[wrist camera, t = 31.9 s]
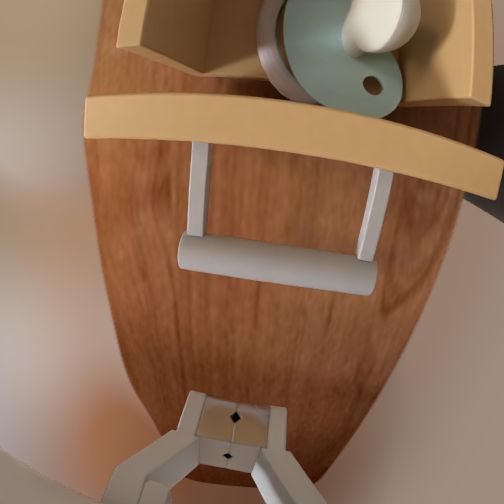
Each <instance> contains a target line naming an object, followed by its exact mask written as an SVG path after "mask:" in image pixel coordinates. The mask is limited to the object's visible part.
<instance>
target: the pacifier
mask: <svg viewBox="0 0 504 504" xmlns="http://www.w3.org/2000/svg"><path fill="white" fill-rule="evenodd" d="M286 3H287V4H286ZM285 4H286V7H285V14H284V25H283V32H284V45H285V50H286V54H287V58H288V61H289V64H290V66H291V69H292V71H293V73H294V75H295V77H296V78H297V79H295V78H294V77H293V76H292V75H291V74H290V73H289V71H288V70H287V69H286V68H285V66H284V64H283V62H282V60H281V58H280V56H279V52H278V48H277V40H276V30H277V22H278V19H279V16H280V13H281V11H282V9H283V8H284V6H285ZM420 16H421V8H420V2H419V0H264V2H263V4H262V7H261V10H260V12H259V15H258V21H257V29H256V38H257V50H258V54H259V57H260V61H261V65H262V67H263V69H264V71H265V73H266V75H267V77H268V79H269V81H270V82H271V83H272V84H273V86H274V87H275V88H276V89H277V90H278V91H279V93H280V94H282V95H283V96H285V97H286V98H288V99H289V100H291V101H294V102H300V103H307V104H322V105H323V106H325V107H330V108H335V109H340V110H345V111H350V112H355V113H359V114H364V115H368V116H372V117H376V118H382V117H384V116H386V115H388V114H390V113H391V112H392V111H393V110H394V109H396V107H397V105H398V104H399V102H400V100H401V97H402V89H403V82H402V76H401V72H400V69H399V66H398V64H397V62H396V60H395V58H394V56H393V54H392V53H391V51H392V50H395V49H397V48H399V47H401V46H403V45H404V44H405V43H407V42H408V41H409V40H410V39H411V37H412V36H413V35H414V33H415V32H416V30H417V28H418V25H419V22H420ZM366 77H373V78H375V79H377V80H378V81H379V82H380V84H381V86H382V91H381V93H380V94H379V95H371V94H370V93H368V92H367V91H366V90H365V89H364V87H363V80H364V78H366Z"/></svg>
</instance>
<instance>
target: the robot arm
mask: <svg viewBox="0 0 504 504" xmlns="http://www.w3.org/2000/svg"><path fill="white" fill-rule="evenodd" d="M286 427H287V409H286V408H285V407H277V406H270V405H266V404H259V403H252V402H246V401H239V400H238V401H236V400H231V399H227V398H222V397H218V396H214V395H209V394H205V393H201V392H197V391H192V390H191V391H190V393H189V395H188V398H187V401H186V404H185V407H184V410H183V413H182V416H181V419H180V422H179V425H178V428H177V431H174V430H171V431H170V432H168V433H167V434H165V435H164V436H162V437H161V438H159V439H158V440H156V441H155V442H153V443H152V444H150V445H149V446H147V447H146V448H144V449H143V450H141V451H140V452H138V453H136V454H135V455H133V456H132V457H130V458H129V459H127V460H125V461H124V462H122V463H120V464H119V465H117V466H116V467H115V469H114V472H113V474H112V476H111V479H110V481H109V483H108V485H107V488H106V490H105V492H104V495H103V497H102V500H101V502H99V501H96V500H94V499H92V498H90V497H87V496H85V495H83V494H81V493H79V492H76V491H74V490H72V489H70V488H68V487H66V486H64V485H62V484H60V483H58V482H56V481H55V480H53V479H51V478H49V477H47V476H45V475H43V474H42V473H40V472H38V471H37V470H35V469H33V468H31V467H30V466H28V465H26V464H25V463H23V462H22V461H20V460H18V459H17V458H15V457H14V456H12V455H11V454H9V453H8V452H6V451H5V450H3V449H2V448H1V447H0V504H172V501H171V495H170V488H172V487H173V486H174V485H176V484H177V483H178V482H179V481H180V480H181V479H183V478H184V477H185V476H186V475H187V474H188V473H190V472H191V471H192V470H193V469H194V468H195V467H196V466H197V465H198V463H200V464H205V465H210V466H216V467H222V468H227V469H232V470H238V471H243V472H249V473H251V475H252V477H253V479H254V481H255V483H256V485H257V487H258V489H259V490H260V493H261V495H262V496H263V498H264V500H265V502H266V503H267V504H327V502H326V501H325V500H324V499H323V497H322V496H321V494H320V493H319V492H318V490H317V489H316V487H315V486H314V485H313V483H312V482H311V480H310V479H309V478H308V476H307V475H306V473H305V472H304V471H303V469H302V468H301V466H300V465H299V463H298V462H297V461H296V459H295V458H294V456H293V455H292V453H291V452H290V451H286Z"/></svg>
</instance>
